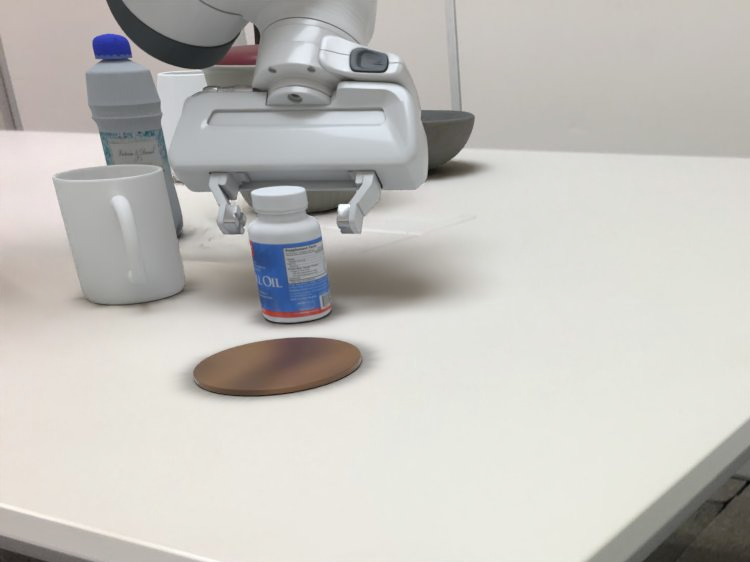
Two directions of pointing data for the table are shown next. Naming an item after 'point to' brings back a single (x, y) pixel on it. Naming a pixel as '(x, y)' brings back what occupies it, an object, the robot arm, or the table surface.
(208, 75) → the canister
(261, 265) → the pill bottle
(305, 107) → the robot arm
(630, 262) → the table surface
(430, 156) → the bowl
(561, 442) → the table surface
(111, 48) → the bottle
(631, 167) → the table surface
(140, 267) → the cup
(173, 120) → the cup
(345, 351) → the coaster
